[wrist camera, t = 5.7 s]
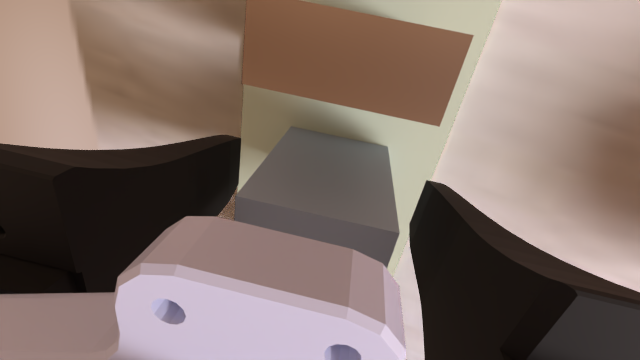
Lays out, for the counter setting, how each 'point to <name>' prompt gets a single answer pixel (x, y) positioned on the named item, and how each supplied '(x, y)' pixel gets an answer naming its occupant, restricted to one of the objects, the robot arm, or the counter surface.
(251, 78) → the tile
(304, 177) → the tile
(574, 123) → the counter surface
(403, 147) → the mat
